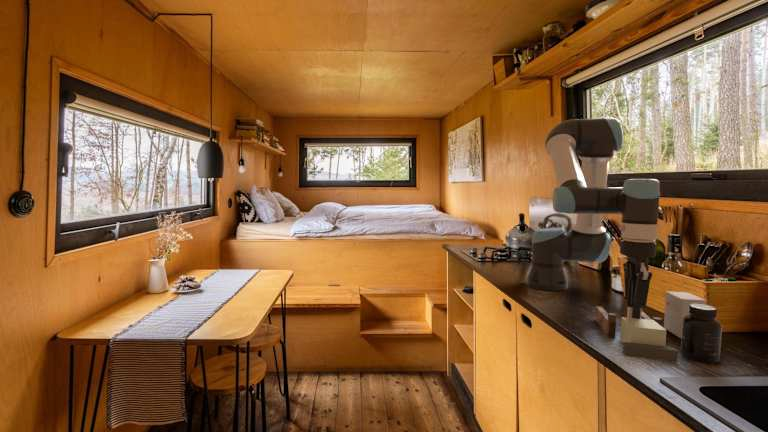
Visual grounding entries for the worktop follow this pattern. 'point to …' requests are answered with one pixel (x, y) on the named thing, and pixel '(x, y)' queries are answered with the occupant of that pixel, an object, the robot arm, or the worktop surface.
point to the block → (642, 331)
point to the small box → (678, 310)
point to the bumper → (650, 351)
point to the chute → (614, 321)
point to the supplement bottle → (701, 334)
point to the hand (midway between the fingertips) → (633, 331)
